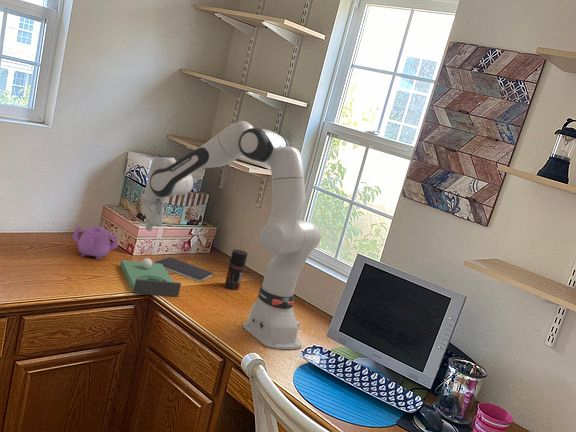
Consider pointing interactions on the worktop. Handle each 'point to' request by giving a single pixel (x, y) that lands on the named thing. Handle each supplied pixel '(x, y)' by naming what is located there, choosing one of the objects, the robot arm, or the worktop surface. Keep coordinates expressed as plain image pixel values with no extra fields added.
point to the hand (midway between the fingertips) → (148, 230)
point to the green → (149, 279)
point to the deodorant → (235, 269)
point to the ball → (146, 263)
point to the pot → (94, 241)
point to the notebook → (185, 269)
